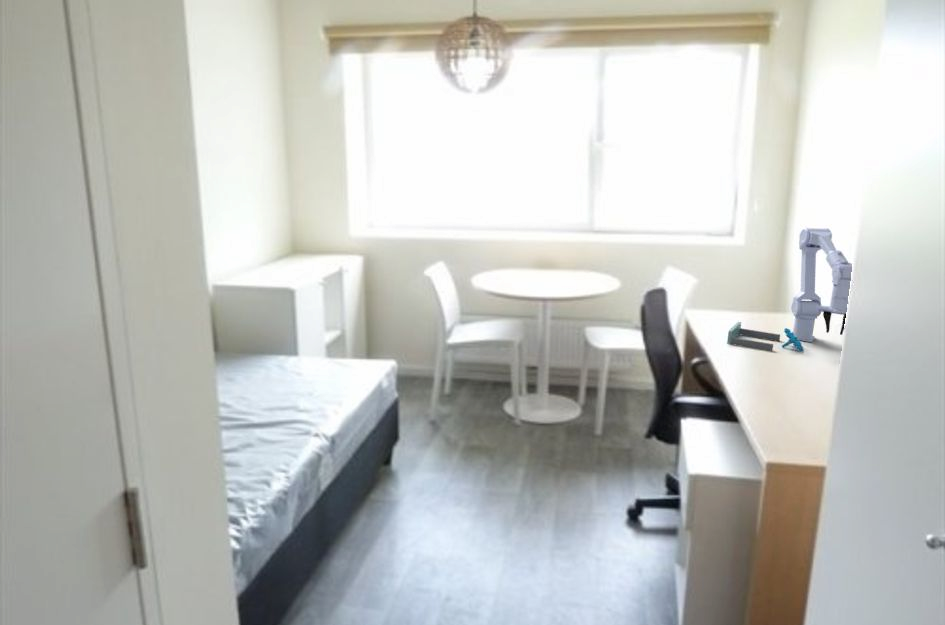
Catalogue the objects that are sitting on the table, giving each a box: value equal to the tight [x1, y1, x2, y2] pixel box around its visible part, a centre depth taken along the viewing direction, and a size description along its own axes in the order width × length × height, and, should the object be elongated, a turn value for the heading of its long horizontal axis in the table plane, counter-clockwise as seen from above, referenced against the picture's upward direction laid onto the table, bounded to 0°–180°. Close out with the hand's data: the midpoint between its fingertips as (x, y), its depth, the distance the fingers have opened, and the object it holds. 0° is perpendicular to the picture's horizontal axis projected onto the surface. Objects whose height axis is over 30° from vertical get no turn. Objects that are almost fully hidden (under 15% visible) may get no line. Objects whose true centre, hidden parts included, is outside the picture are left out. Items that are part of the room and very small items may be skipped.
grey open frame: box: [726, 321, 781, 352], centre depth 269 cm, size 18×16×5 cm
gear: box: [781, 327, 804, 352], centre depth 263 cm, size 11×6×10 cm
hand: (834, 333), depth 254 cm, fingers open, 4 cm apart
